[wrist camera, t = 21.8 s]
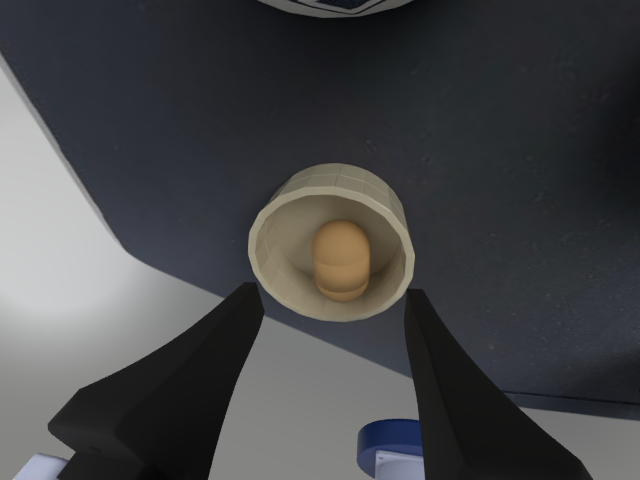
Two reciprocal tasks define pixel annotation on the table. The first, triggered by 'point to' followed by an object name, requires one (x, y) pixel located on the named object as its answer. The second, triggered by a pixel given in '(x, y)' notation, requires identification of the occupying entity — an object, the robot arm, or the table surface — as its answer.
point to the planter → (335, 7)
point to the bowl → (304, 221)
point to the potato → (341, 260)
